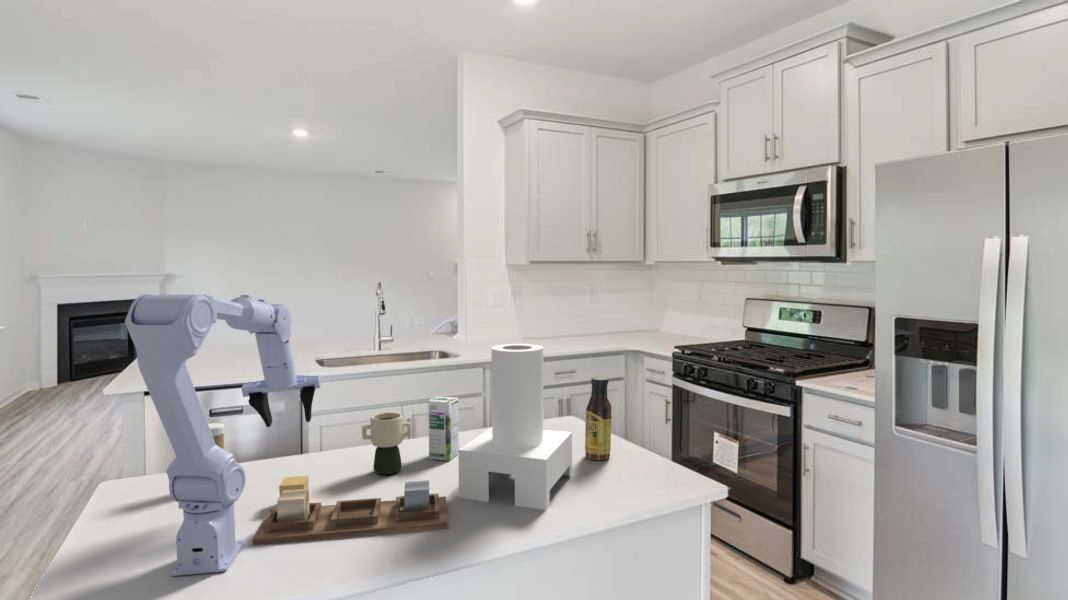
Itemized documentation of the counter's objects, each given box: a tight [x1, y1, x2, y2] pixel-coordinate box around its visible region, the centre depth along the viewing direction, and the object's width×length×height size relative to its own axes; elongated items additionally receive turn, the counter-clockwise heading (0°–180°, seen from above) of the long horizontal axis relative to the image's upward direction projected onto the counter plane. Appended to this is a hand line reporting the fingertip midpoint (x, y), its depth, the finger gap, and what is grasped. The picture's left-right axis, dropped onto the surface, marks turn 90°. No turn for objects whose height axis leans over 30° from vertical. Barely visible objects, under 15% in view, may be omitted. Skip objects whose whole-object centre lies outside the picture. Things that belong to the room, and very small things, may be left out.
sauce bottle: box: [584, 375, 612, 462], centre depth 142 cm, size 7×6×20 cm
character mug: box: [361, 411, 412, 475], centre depth 133 cm, size 11×7×13 cm, turn 105°
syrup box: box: [427, 396, 460, 462], centre depth 143 cm, size 6×6×14 cm
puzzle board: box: [251, 479, 449, 546], centre depth 108 cm, size 12×33×6 cm, turn 101°
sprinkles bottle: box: [208, 422, 225, 450], centre depth 125 cm, size 5×5×13 cm
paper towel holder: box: [458, 343, 573, 511], centre depth 124 cm, size 19×19×30 cm
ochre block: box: [278, 475, 310, 496], centre depth 116 cm, size 4×4×5 cm
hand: (289, 421), depth 119 cm, fingers open, 7 cm apart
